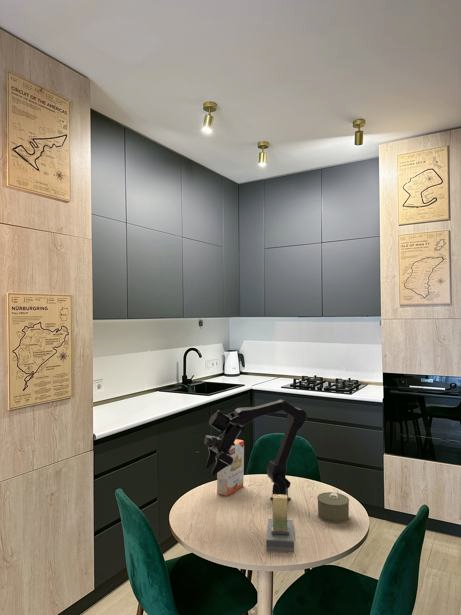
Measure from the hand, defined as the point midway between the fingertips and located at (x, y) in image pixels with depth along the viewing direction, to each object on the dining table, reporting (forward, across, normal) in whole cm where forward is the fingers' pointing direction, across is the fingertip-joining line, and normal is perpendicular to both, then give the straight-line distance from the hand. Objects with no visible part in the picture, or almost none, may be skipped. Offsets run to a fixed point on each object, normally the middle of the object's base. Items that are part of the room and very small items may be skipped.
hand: (209, 471), depth 176 cm
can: (-11, +20, +46) cm, 51 cm away
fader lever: (+1, +28, +23) cm, 37 cm away
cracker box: (+5, -16, +20) cm, 26 cm away
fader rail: (+2, +28, +24) cm, 37 cm away
